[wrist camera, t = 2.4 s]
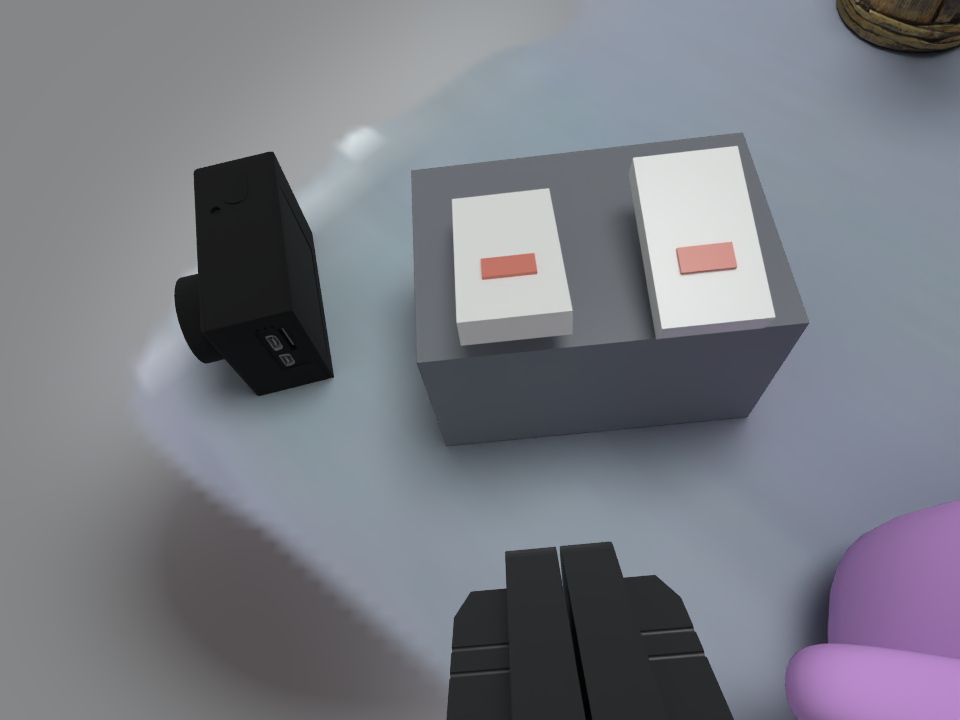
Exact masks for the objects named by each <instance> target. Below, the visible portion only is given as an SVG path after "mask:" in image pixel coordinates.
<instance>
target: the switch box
mask: <svg viewBox="0 0 960 720" xmlns="http://www.w3.org/2000/svg"><path fill="white" fill-rule="evenodd" d="M732 146H738V150H739V154H740V159H741V163H742V168H743V172H744V177H745V181H746V186H747V190H748V195H749V199H750V204H751V208H752V213H753V217H754V222H755V227H756V231H757V236H758V240H759V245H760V249H761V254H762V258H763V263H764V267H765V272H766V276H767V281H768V285H769V290H770V294H771V299H772V303H773V308H774V313H775V318H774V319H773V320H772V321H771V322H770V323H769V324H768V325H767V326H766V327H765V328H761V329H751V330H741V331H732V332H722V333H712V334H702V335H692V336H683V337H673V338H663V339H656V336H655V330H654V324H653V318H652V312H651V306H650V300H649V294H648V288H647V282H646V276H645V270H644V264H643V258H642V252H641V246H640V240H639V234H638V228H637V222H636V216H635V210H634V204H633V198H632V192H631V186H630V180H629V171H630V167H631V163H632V159H633V158H635V157H644V156H653V155H661V154H670V153H679V152H688V151H697V150H705V149H714V148H723V147H732ZM411 179H412V214H413V249H414V284H415V319H416V355H417V365H418V368H419V371H420V373H421V376H422V379H423V382H424V384H425V387H426V390H427V393H428V396H429V398H430V401H431V404H432V407H433V409H434V412H435V415H436V418H437V421H438V423H439V426H440V429H441V432H442V434H443V437H444V440H445V443H446V445H447V446H451V445H462V444H472V443H482V442H493V441H503V440H513V439H524V438H534V437H544V436H555V435H565V434H575V433H586V432H596V431H606V430H616V429H627V428H637V427H647V426H658V425H668V424H678V423H689V422H699V421H709V420H720V419H730V418H740V417H748V416H749V414H750V412H751V411H752V409H753V408H754V406H755V405H756V403H757V402H758V400H759V399H760V397H761V396H762V394H763V393H764V391H765V390H766V388H767V387H768V385H769V384H770V382H771V380H772V379H773V377H774V376H775V374H776V373H777V371H778V370H779V368H780V367H781V365H782V364H783V362H784V361H785V359H786V358H787V356H788V355H789V353H790V351H791V350H792V348H793V347H794V345H795V344H796V342H797V341H798V339H799V338H800V336H801V335H802V333H803V332H804V330H805V329H806V327H807V326H808V324H809V320H808V317H807V315H806V312H805V309H804V306H803V303H802V300H801V297H800V295H799V292H798V289H797V286H796V283H795V280H794V277H793V275H792V272H791V269H790V266H789V263H788V260H787V257H786V255H785V252H784V249H783V246H782V243H781V240H780V237H779V235H778V232H777V229H776V226H775V223H774V220H773V217H772V215H771V212H770V209H769V206H768V203H767V200H766V197H765V195H764V192H763V189H762V186H761V183H760V180H759V177H758V175H757V172H756V169H755V166H754V163H753V160H752V157H751V155H750V152H749V149H748V146H747V143H746V140H745V137H744V135H743V133H734V134H726V135H717V136H708V137H699V138H691V139H682V140H673V141H664V142H656V143H647V144H638V145H630V146H621V147H612V148H603V149H595V150H586V151H577V152H569V153H560V154H551V155H542V156H534V157H525V158H516V159H508V160H499V161H490V162H481V163H473V164H464V165H455V166H446V167H438V168H429V169H420V170H412V171H411ZM546 188H549V190H550V195H551V201H552V206H553V211H554V216H555V221H556V227H557V232H558V237H559V242H560V247H561V253H562V258H563V263H564V268H565V273H566V279H567V284H568V289H569V294H570V299H571V304H572V310H573V334H570V335H560V336H551V337H541V338H531V339H521V340H512V341H502V342H492V343H483V344H473V345H463V346H461V345H460V339H459V334H458V328H457V322H456V296H455V269H454V243H453V216H452V199H458V198H466V197H475V196H484V195H493V194H502V193H511V192H520V191H529V190H538V189H546Z"/></svg>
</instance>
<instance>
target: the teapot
mask: <svg viewBox="0 0 960 720" xmlns="http://www.w3.org/2000/svg"><path fill="white" fill-rule="evenodd" d="M785 689H786V695H787V700H788V703H789V705H790V708H791V710H792V712H793V713H794V715H795V716H796V718H797V719H798V720H960V500H959V501H954V502H949V503H944V504H940V505H937V506H934V507H930V508H927V509H923V510H920V511H916V512H913V513H910V514H906V515H903V516H900V517H896V518H894V519H892V520H890V521H888V522H887V523H885V524H883V525H881V526H879V527H877V528H875V529H873V530H871V531H869V532H867V533H865V534H863V535H862V536H861V537H860V538H859V539H858V540H857V541H856V542H855V543H854V544H852V545H851V546H850V547H849V548H848V550H847V551H846V553H845V555H844V556H843V558H842V560H841V561H840V563H839V565H838V567H837V569H836V573H835V576H834V580H833V583H832V587H831V590H830V602H829V618H828V643H827V644H817V645H812V646H808V647H806V648H803V649H802V650H800V651H798V652H797V653H795V655H794V656H793V657H792V658H791V660H790V661H789V664H788V667H787V670H786V679H785Z"/></svg>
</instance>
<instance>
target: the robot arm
mask: <svg viewBox="0 0 960 720" xmlns="http://www.w3.org/2000/svg"><path fill="white" fill-rule="evenodd" d="M560 559H561V571H562V579H561V574H560V568H559V562H558V556H557V550H556V547H549V548H538V549H527V550H517V551H506V552H505V562H506V585H507V589H496V590H485V591H474V592H470V594H469V596H468V597H467V599H466V600H465V602H464V603H463V605H462V606H461V608H460V609H459V611H458V613H457V614H456V616H455V617H454V626H453V639H452V653H451V667H450V680H449V694H448V707H447V708H448V709H447V720H734V719H733V717H732V714H731V712H730V710H729V707H728V705H727V703H726V700H725V698H724V696H723V693H722V691H721V689H720V687H719V684H718V682H717V680H716V677H715V675H714V673H713V670H712V668H711V666H710V663H709V661H708V659H707V657H705V655H704V650H703V647H702V645H701V643H700V640H699V638H698V636H697V633H696V632H694V628H693V624H692V622H691V620H690V617H689V615H688V613H687V610H686V608H685V606H684V603H683V601H682V599H681V597H680V596H679V595H678V594H676V593H675V592H674V591H673V590H672V589H671V588H670V587H668V586H667V585H666V584H665V583H664V582H663V581H661V580H660V579H659V578H658V577H657V576H656V575H649V576H638V577H627V578H623V575H622V572H621V569H620V566H619V563H618V559H617V556H616V553H615V550H614V547H613V544H612V542H601V543H590V544H579V545H568V546H560ZM562 582H563V585H562Z"/></svg>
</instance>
